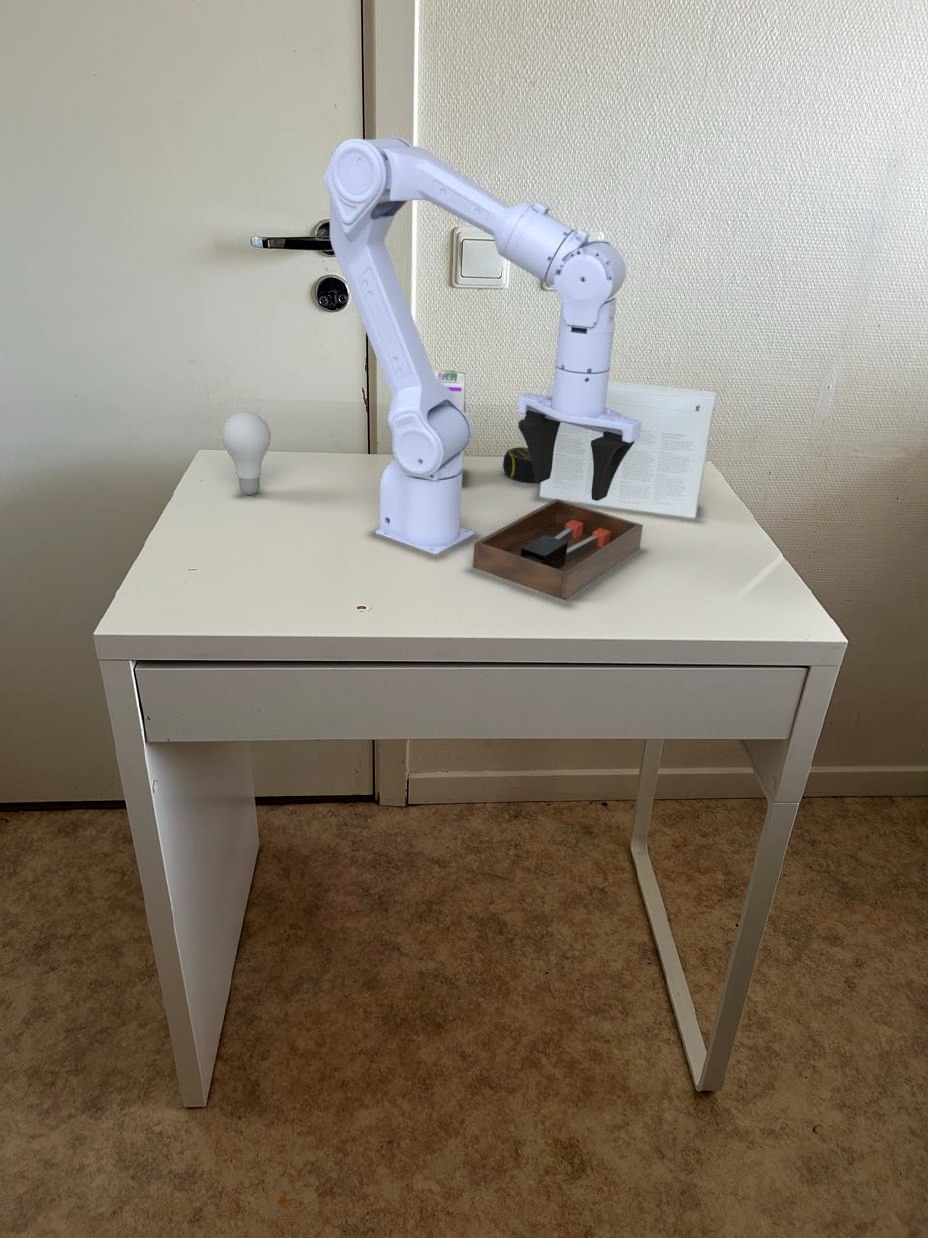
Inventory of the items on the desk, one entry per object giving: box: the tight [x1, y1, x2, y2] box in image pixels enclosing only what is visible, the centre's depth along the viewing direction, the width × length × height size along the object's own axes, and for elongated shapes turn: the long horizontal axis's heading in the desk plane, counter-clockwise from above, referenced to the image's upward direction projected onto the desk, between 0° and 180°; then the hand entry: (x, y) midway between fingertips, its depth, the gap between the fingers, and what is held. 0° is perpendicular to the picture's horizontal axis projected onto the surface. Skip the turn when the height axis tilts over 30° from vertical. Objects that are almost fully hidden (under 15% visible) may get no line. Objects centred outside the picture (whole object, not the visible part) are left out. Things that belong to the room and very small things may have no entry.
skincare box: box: [538, 377, 717, 519], centre depth 125 cm, size 21×6×16 cm, turn 76°
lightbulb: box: [221, 411, 272, 496], centre depth 123 cm, size 6×6×11 cm
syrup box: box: [433, 369, 467, 481], centre depth 130 cm, size 6×6×14 cm
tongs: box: [521, 520, 611, 569], centre depth 111 cm, size 5×15×3 cm, turn 144°
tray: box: [472, 499, 644, 601], centre depth 111 cm, size 12×18×4 cm
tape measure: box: [502, 446, 536, 483], centre depth 135 cm, size 7×7×4 cm
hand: (570, 488), depth 106 cm, fingers open, 7 cm apart
